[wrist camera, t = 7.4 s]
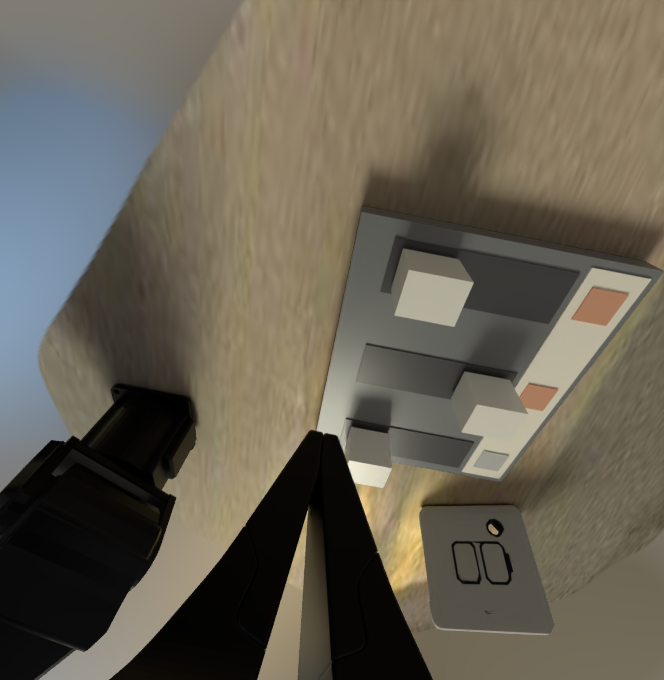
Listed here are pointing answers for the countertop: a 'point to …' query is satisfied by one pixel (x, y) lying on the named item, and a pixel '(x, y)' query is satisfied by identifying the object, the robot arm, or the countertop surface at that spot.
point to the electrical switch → (482, 571)
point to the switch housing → (469, 337)
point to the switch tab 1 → (368, 456)
